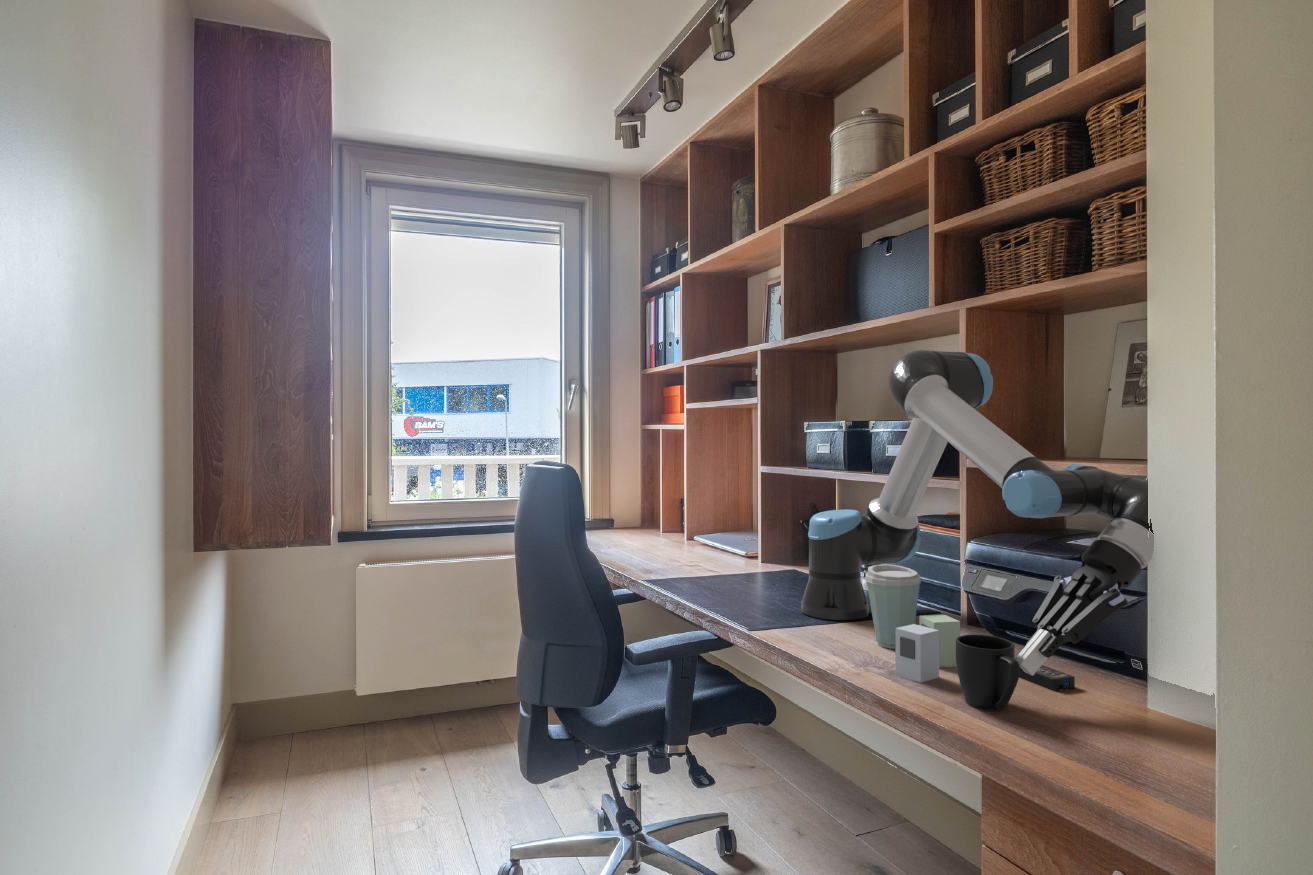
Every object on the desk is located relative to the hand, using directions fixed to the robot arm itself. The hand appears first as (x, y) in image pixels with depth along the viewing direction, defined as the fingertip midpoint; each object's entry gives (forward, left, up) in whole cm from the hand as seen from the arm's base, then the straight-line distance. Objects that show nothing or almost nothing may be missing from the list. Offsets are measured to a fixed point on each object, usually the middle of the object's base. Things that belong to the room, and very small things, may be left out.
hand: (1023, 667), depth 110 cm
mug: (-1, -5, -6) cm, 8 cm away
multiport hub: (-8, +13, -6) cm, 17 cm away
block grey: (-17, -4, -6) cm, 19 cm away
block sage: (-21, +5, -6) cm, 23 cm away
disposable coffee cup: (-33, +5, -6) cm, 34 cm away
